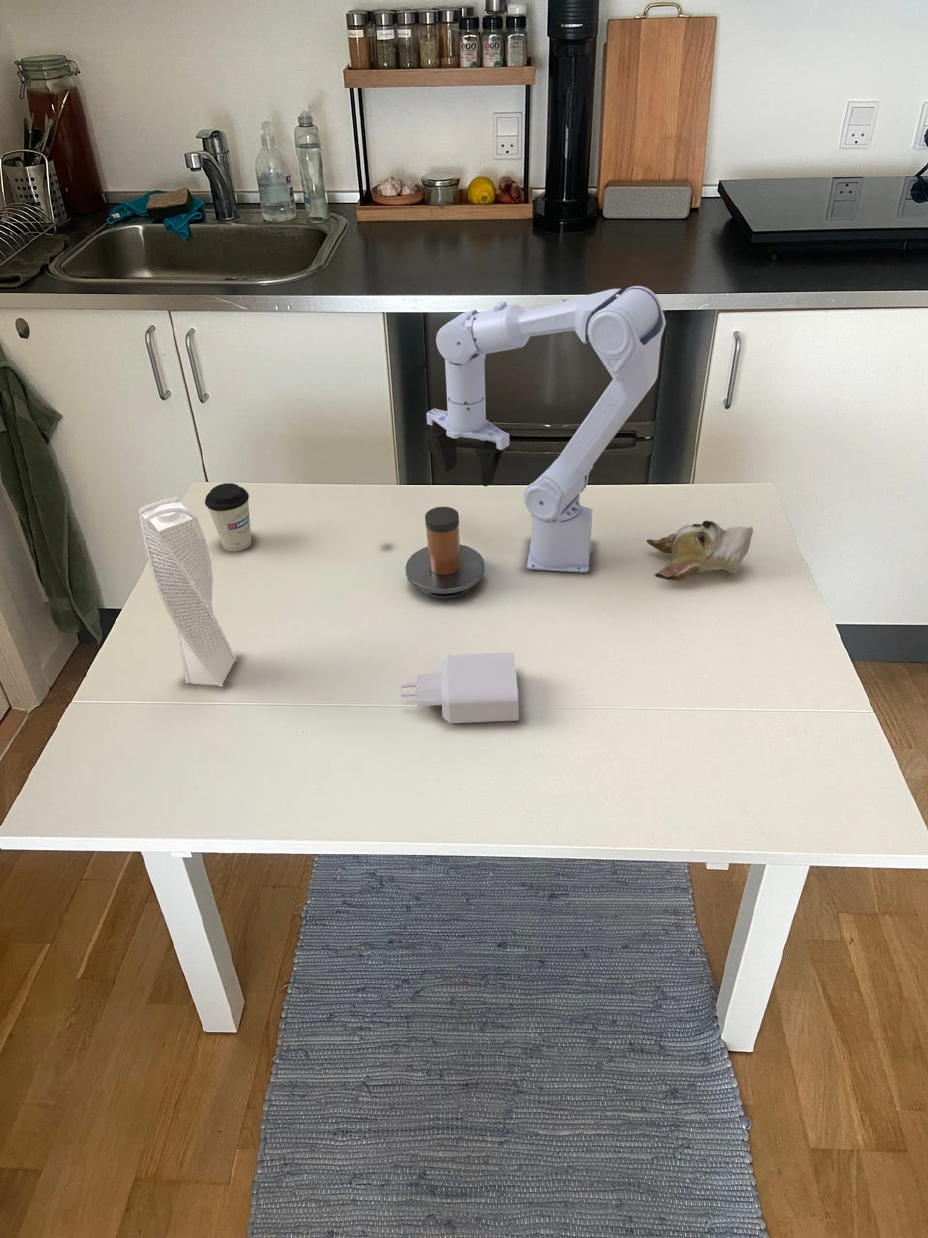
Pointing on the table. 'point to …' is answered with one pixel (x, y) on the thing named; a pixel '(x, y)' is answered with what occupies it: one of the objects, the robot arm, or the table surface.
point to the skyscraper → (186, 589)
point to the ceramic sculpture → (703, 549)
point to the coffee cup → (230, 515)
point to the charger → (471, 688)
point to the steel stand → (445, 584)
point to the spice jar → (443, 540)
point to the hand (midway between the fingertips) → (468, 476)
